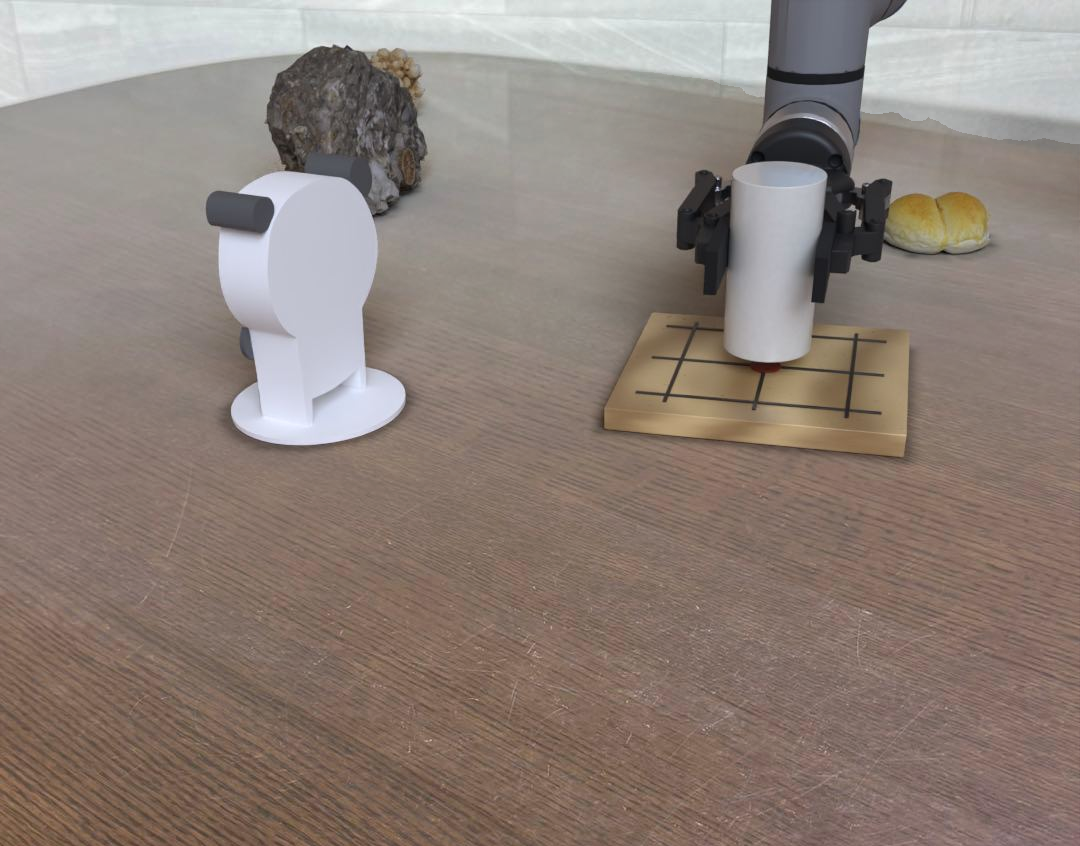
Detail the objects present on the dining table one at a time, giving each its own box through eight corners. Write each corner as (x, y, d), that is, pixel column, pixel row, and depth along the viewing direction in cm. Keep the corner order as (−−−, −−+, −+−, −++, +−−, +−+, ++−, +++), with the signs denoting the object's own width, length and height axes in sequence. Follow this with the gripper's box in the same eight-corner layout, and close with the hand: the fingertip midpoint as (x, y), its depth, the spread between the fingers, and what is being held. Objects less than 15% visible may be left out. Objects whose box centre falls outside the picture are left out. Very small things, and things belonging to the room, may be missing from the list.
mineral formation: (436, 108, 150) (384, 129, 137) (342, 122, 154) (284, 143, 142) (422, 39, 146) (368, 54, 134) (327, 55, 151) (266, 72, 139)
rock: (400, 23, 103) (260, -17, 108) (328, 175, 102) (190, 127, 107) (469, 130, 120) (346, 91, 125) (409, 260, 119) (287, 216, 124)
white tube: (814, 331, 79) (830, 163, 73) (807, 366, 75) (824, 189, 69) (729, 325, 81) (738, 159, 75) (717, 358, 76) (726, 185, 70)
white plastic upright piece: (308, 355, 86) (277, 141, 78) (443, 382, 81) (425, 157, 73) (195, 424, 77) (147, 191, 69) (339, 459, 73) (305, 213, 65)
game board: (907, 350, 84) (910, 328, 83) (903, 457, 71) (907, 433, 70) (651, 331, 88) (651, 310, 87) (603, 429, 75) (603, 406, 74)
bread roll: (875, 225, 107) (880, 179, 104) (981, 227, 105) (988, 181, 103) (880, 256, 100) (886, 208, 98) (993, 259, 98) (1001, 210, 96)
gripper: (922, 225, 89) (921, 349, 70) (672, 211, 93) (607, 325, 74) (937, 120, 84) (941, 222, 66) (675, 111, 89) (608, 204, 70)
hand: (764, 276), depth 70 cm, fingers closed on white tube, 6 cm apart
